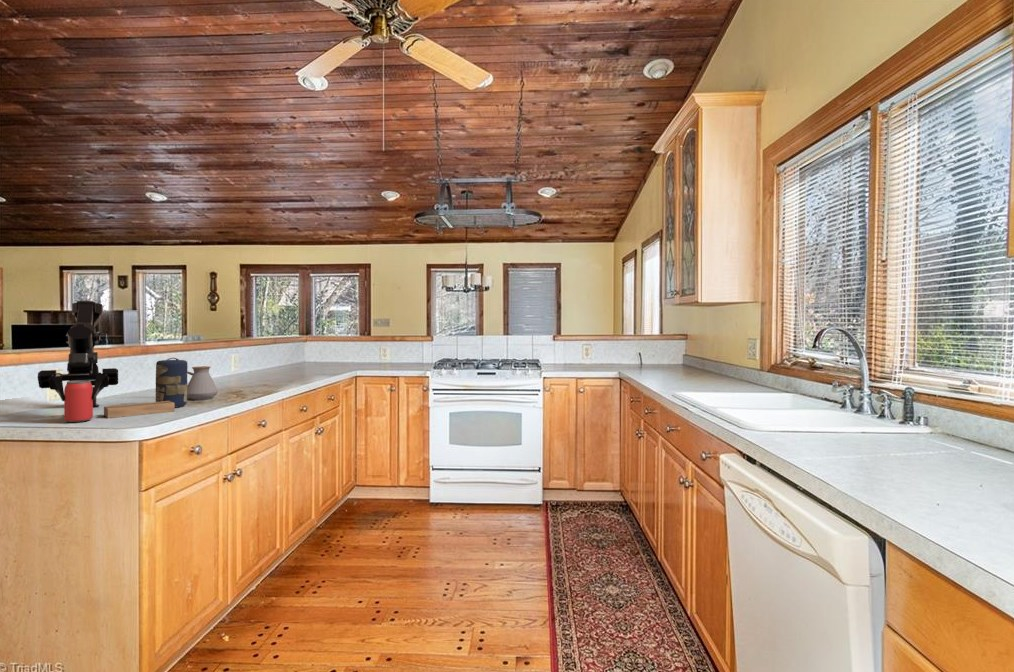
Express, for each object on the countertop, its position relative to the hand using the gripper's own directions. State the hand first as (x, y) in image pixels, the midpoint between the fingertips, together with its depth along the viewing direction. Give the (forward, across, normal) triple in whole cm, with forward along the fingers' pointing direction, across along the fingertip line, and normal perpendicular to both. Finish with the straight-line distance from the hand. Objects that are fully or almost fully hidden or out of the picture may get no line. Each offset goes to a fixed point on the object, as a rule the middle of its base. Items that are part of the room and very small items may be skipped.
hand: (78, 399), depth 147 cm
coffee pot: (-20, +31, +31) cm, 48 cm away
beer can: (+4, 0, +6) cm, 7 cm away
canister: (-7, +24, +17) cm, 31 cm away
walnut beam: (0, +15, +10) cm, 18 cm away
